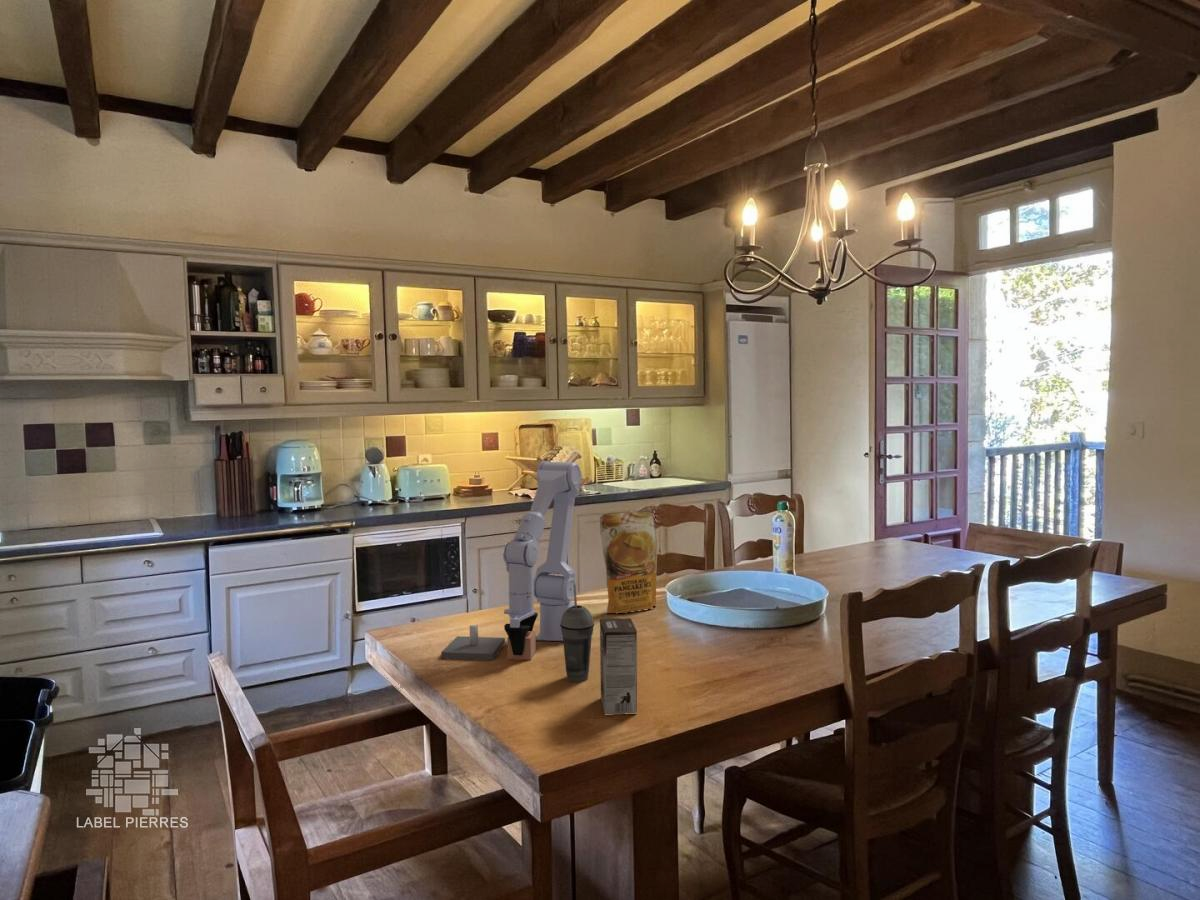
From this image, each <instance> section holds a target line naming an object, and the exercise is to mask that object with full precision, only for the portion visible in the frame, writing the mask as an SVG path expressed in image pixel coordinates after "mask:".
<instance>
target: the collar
mask: <svg viewBox="0 0 1200 900" xmlns="http://www.w3.org/2000/svg"><path fill="white" fill-rule="evenodd" d="M536 637H537V636H536V631H535V630H534V631H528V632H527V635H526V639H525V646H524V652H523V655H513V652H512V647H511V643H510V639H509V637H508V636H507V660H522V659H524V660H525V661H528V660H529V661H531V660H532V659H533V657H534V656H535V654H536V649H537V647H536V644H537V643H536V641H537V640H536Z"/></svg>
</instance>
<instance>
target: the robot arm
mask: <svg viewBox="0 0 1200 900" xmlns="http://www.w3.org/2000/svg"><path fill="white" fill-rule="evenodd" d="M536 471H537V472H536V482H537V485H538V486H537V487H536V488H537V489H536V492H535V495H534V498H533V501H532V503H531V507H530V511H529V512H526V513H523V516H522V518H521V520H520V523H519V525H518V527H517V530H516V531H515V535H514V536H513V539H512V540H510V541H509V542H508V541H507V543H506V545H505V546H504V550H503V554H502V557H503V561H504V563H505V567H506V568H505V569H506V572H507V573H508V608H506V609H504V611H503V614H504V615H508V616H509V623H505V624H504V627H503V629H504V631H505V633H506V635H507V638H508V637H509V639H510V643H511V647H512V652H513V655H523V652H524V646H525V639H526V635H527V632H528V631H533V630H534V626H535V623H536V621H537V619H538V616H539V632H538V634H537V636H536V641H550V642H552V641H553V642H563V635H562V631H561V627H560V624H561V619H562V616H563V614H564V612H565V611H566V610H567V609H568V608H570V607H572V606H575V604H574V601H572V600H573V599H574V586H573V585H574V584H576V572H575V571H574V570H573V569H572V568H571V566H570V565H568V564H567V561H568V554H569V547H570V546H569V545H570V539H571V537H570V536H571V532H572V531H571V530H572V522H573V516H574V515H573V514H574V507H575V501H576V500H575V498H577V497H578V496H580V490H581V482H582V471H581V468H580V466H579V464H578V462H575V461H572V462H568V461H567V462H566V461H546V460H544V461H543V460H542V461H541V462H540V463H539V465H538V467H537V470H536ZM552 502H553V508H552V510H553V511H552V515H551V516H552V517H551V524H550V533H549V538H548V539H549V540H548V546H547V547H548V548H547V553H546V555H547V556H546V560H545V562H544V563H543V564H541V565H540V566H538V567H537V568H536V570H535V571H536V572H535V576H534V566H535V564H536V563H537V561H538V558H539V549H540V543H539V542H540V539H541V537H542V535H543V532H544V529H545V527H546V526H547V525H546V524H547V523H546V520H545V518H544V517H545V515H546V514H547V511H548V509H549V508H550V506H551V504H552ZM555 574H556V575H555ZM534 598H535V599H537V600H536V602H537V603H539V613H538V612H535V611H536V610H535V608H534V607H535V606H534V603H535V600H534Z"/></svg>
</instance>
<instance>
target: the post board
mask: <svg viewBox="0 0 1200 900" xmlns="http://www.w3.org/2000/svg"><path fill="white" fill-rule="evenodd" d="M504 644H506V638H505V637H493V636H492V637H490V636H489V637H487V636H479V625H478V624H470V625H469V636H459V635H457V636H455V638H454V639H453V640H452V641H451V642H450V643H449V644H448V645H446V647H444V649H443V650H442V651H441V658H450V659H451V660H469V659H479V660H478V661H493V660H494V659H495V658H496V656H497V655H498V654H499V652H500V651H501V650H500V649H502V648H503V647H504V646H505V645H504ZM497 653H498V654H497ZM494 657H495V658H494ZM455 658H456V659H455ZM450 659H449V660H450Z"/></svg>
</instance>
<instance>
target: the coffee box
mask: <svg viewBox="0 0 1200 900" xmlns="http://www.w3.org/2000/svg"><path fill="white" fill-rule="evenodd" d="M599 635H600V636H599V640H600V641H599V642H600V643H599V644H600V645H599V646H600V647H599V648H600V649H599V653H600V657H599V659H600V662H599V663H600V700H601V703H602V704H601V705H602V709H604V710H603V713H604V715H605V714H625V713H636V712H637V710H638V705H637V704H638V700H637V698H638V696H637V695H638V693H637V692H638V678H637V677H638V631H637V629H636V627H635V624H634V622H633V620H632V618H631V617H628V618H620V617H619V618H618V617H607V618H606V617H605V618H599Z"/></svg>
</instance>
